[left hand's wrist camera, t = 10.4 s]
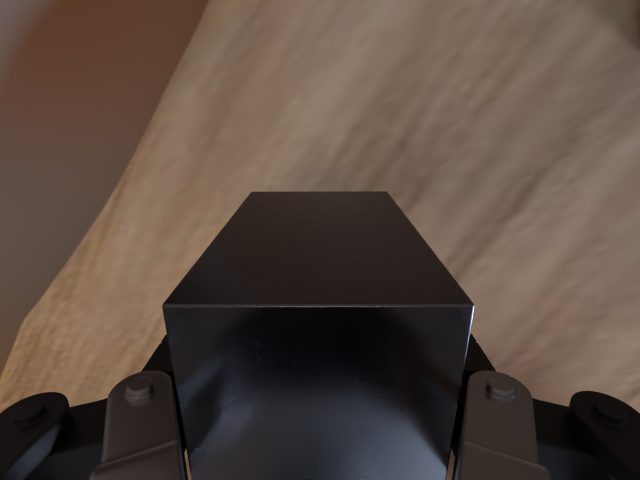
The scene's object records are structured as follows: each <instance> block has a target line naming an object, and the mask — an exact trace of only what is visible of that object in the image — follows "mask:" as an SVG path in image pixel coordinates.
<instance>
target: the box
mask: <svg viewBox="0 0 640 480" xmlns="http://www.w3.org/2000/svg"><path fill="white" fill-rule="evenodd" d="M162 308H163V314H164V320H165V326H166V332H167V337H168V343H169V349H170V355H171V361H172V367H173V373H174V378H175V384H176V390H177V396H178V402H179V408H180V414H181V419H182V425H183V431H184V437H185V443H186V449H187V455H188V460H189V466H190V472H191V478H192V480H446V476H447V470H448V464H449V458H450V452H451V445H452V439H453V433H454V427H455V421H456V415H457V409H458V403H459V396H460V390H461V384H462V378H463V372H464V366H465V360H466V354H467V347H468V341H469V335H470V329H471V323H472V317H473V311H474V304H473V302H472V301H471V300H470V298H469V297H468V296H467V295H466V293H465V292H464V291H463V289H462V288H461V287H460V286H459V284H458V283H457V282H456V280H455V279H454V278H453V276H452V275H451V274H450V273H449V271H448V270H447V269H446V267H445V266H444V265H443V264H442V262H441V261H440V260H439V258H438V257H437V256H436V254H435V253H434V252H433V251H432V249H431V248H430V247H429V245H428V244H427V243H426V242H425V240H424V239H423V238H422V236H421V235H420V234H419V232H418V231H417V230H416V229H415V227H414V226H413V225H412V223H411V222H410V221H409V220H408V218H407V217H406V216H405V214H404V213H403V212H402V210H401V209H400V208H399V207H398V205H397V204H396V203H395V201H394V200H393V199H392V198H391V196H390V195H389V194H388V192H251V193H250V194H249V196H248V197H247V198H246V199H245V201H244V202H243V203H242V204H241V206H240V207H239V208H238V210H237V211H236V212H235V213H234V215H233V216H232V217H231V218H230V220H229V221H228V222H227V224H226V225H225V226H224V227H223V229H222V230H221V231H220V232H219V234H218V235H217V236H216V237H215V239H214V240H213V241H212V243H211V244H210V245H209V246H208V248H207V249H206V250H205V251H204V253H203V254H202V255H201V257H200V258H199V259H198V260H197V262H196V263H195V264H194V265H193V267H192V268H191V269H190V270H189V272H188V273H187V274H186V276H185V277H184V278H183V279H182V281H181V282H180V283H179V284H178V286H177V287H176V288H175V289H174V291H173V292H172V293H171V295H170V296H169V297H168V298H167V300H166V301H165V302H164V303H163V306H162Z"/></svg>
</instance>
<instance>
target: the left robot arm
mask: <svg viewBox="0 0 640 480" xmlns="http://www.w3.org/2000/svg"><path fill="white" fill-rule="evenodd" d="M451 448H452V451H453V453H454V456H455V460H454V466H453V473H452V480H640V413H638V412H637V411H636V410H635V409H633V408H632V407H631V406H629V405H627V404H626V403H624V402H622V401H620V400H618V399H616V398H614V397H612V396H609V395H606V394H603V393H599V392H594V391H581V392H577V393H575V394H574V395H573V396H572V398H571V400H570V404H569V407H567V406H563V405H558V404H554V403H549V402H545V401H541V400H537V399H533V398H532V396H531V394H530V392H529V390H528V389H527V388H526V387H525V386H524V385H523V384H522V383H521V382H519V381H518V380H516V379H515V378H513V377H511V376H509V375H506V374H504V373H500V372H496V370H495V369H494V367H493V366H492V364H491V363H490V361H489V360H488V358H487V357H486V355H485V354H484V352H483V350H482V349H481V347H480V346H479V344H478V343H476V340H475V338H474V337H473V335H472V334H470V335H469V341H468V347H467V354H466V360H465V366H464V372H463V378H462V384H461V390H460V396H459V403H458V409H457V415H456V421H455V427H454V433H453V439H452V445H451ZM185 449H186V443H185V437H184V431H183V425H182V419H181V414H180V408H179V402H178V396H177V390H176V384H175V378H174V373H173V367H172V361H171V355H170V349H169V343H168V337H167V335H165V337H164V338H163V340H162V343H160V344H159V346H158V347H157V349H156V350H155V352H154V353H153V355H152V356H151V358H150V359H149V361H148V362H147V364H146V365H145V367H144V368H143V370H142V371H141V372H140V373H136V374H134V375H131V376H129V377H127V378H125V379H124V380H122V381H121V382H119V383H118V384H117V385H116V386H115V387H114V388H113V389H112V390H111V392H110V394H109V396H108V398H106V399H103V400H99V401H96V402H91V403H87V404H82V405H78V406H74V407H70V406H69V403H68V400H67V398H66V396H64V395H63V394H61V393H57V392H47V393H40V394H37V395H33V396H30V397H27V398H25V399H23V400H20V401H19V402H17V403H15V404H13V405H11V406H10V407H8V408H7V409H6V410H4V411H3V412H2V413H0V480H188V473H187V466H186V460H185V454H184V452H185Z"/></svg>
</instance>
